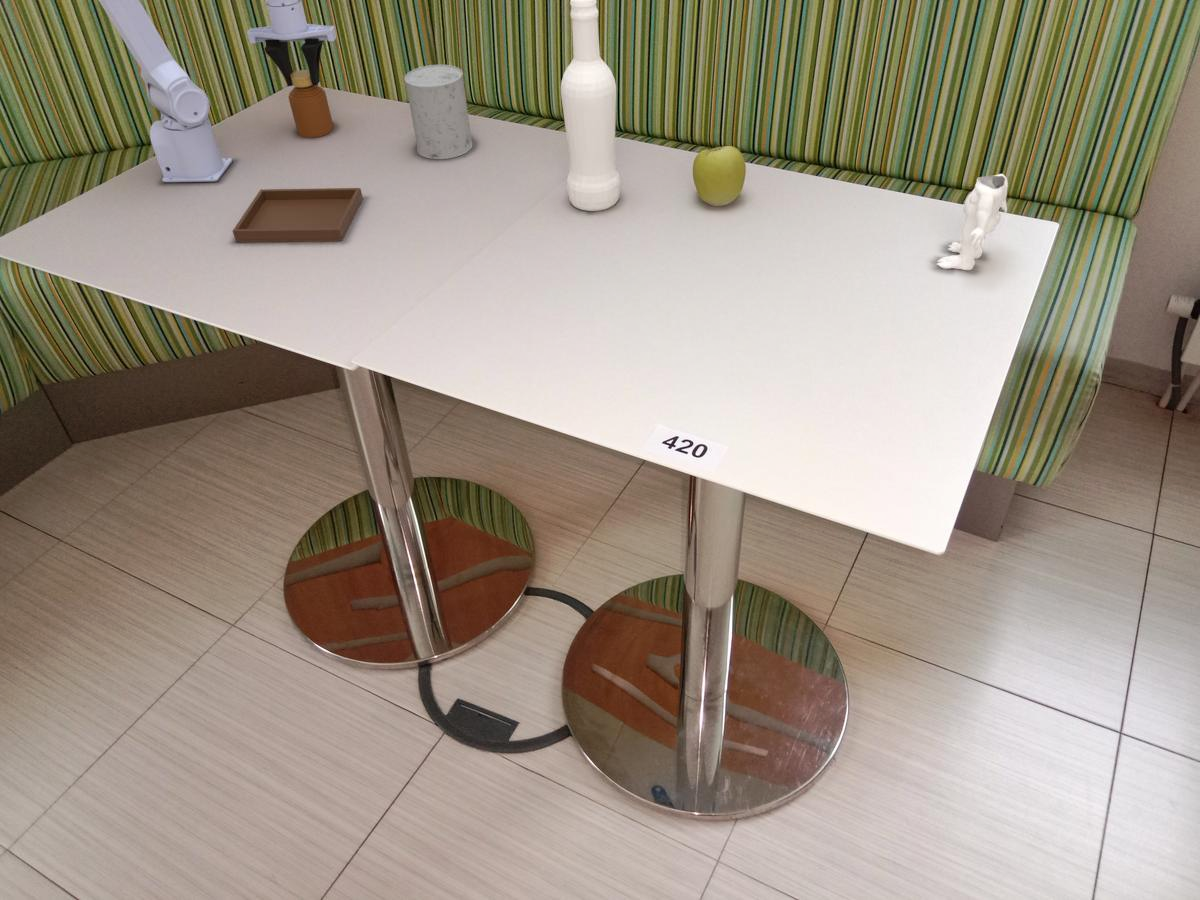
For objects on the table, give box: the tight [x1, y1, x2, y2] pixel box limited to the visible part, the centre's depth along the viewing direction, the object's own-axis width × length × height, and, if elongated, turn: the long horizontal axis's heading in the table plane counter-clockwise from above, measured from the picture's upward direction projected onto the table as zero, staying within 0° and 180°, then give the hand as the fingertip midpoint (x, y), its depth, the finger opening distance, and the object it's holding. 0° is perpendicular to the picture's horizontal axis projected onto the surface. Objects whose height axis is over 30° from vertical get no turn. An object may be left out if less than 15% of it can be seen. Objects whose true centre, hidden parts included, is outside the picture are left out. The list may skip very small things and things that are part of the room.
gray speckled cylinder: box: [403, 64, 473, 160], centre depth 162 cm, size 10×10×12 cm
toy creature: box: [936, 173, 1009, 271], centre depth 128 cm, size 12×6×12 cm, turn 147°
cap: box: [290, 69, 313, 88], centre depth 168 cm, size 4×4×2 cm
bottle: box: [560, 0, 621, 212], centre depth 140 cm, size 8×8×30 cm
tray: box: [232, 187, 364, 243], centre depth 148 cm, size 16×13×2 cm
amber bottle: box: [288, 84, 335, 139], centre depth 171 cm, size 6×6×10 cm
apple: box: [692, 141, 747, 207], centre depth 145 cm, size 8×8×10 cm
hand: (304, 83), depth 168 cm, fingers closed on cap, 4 cm apart
